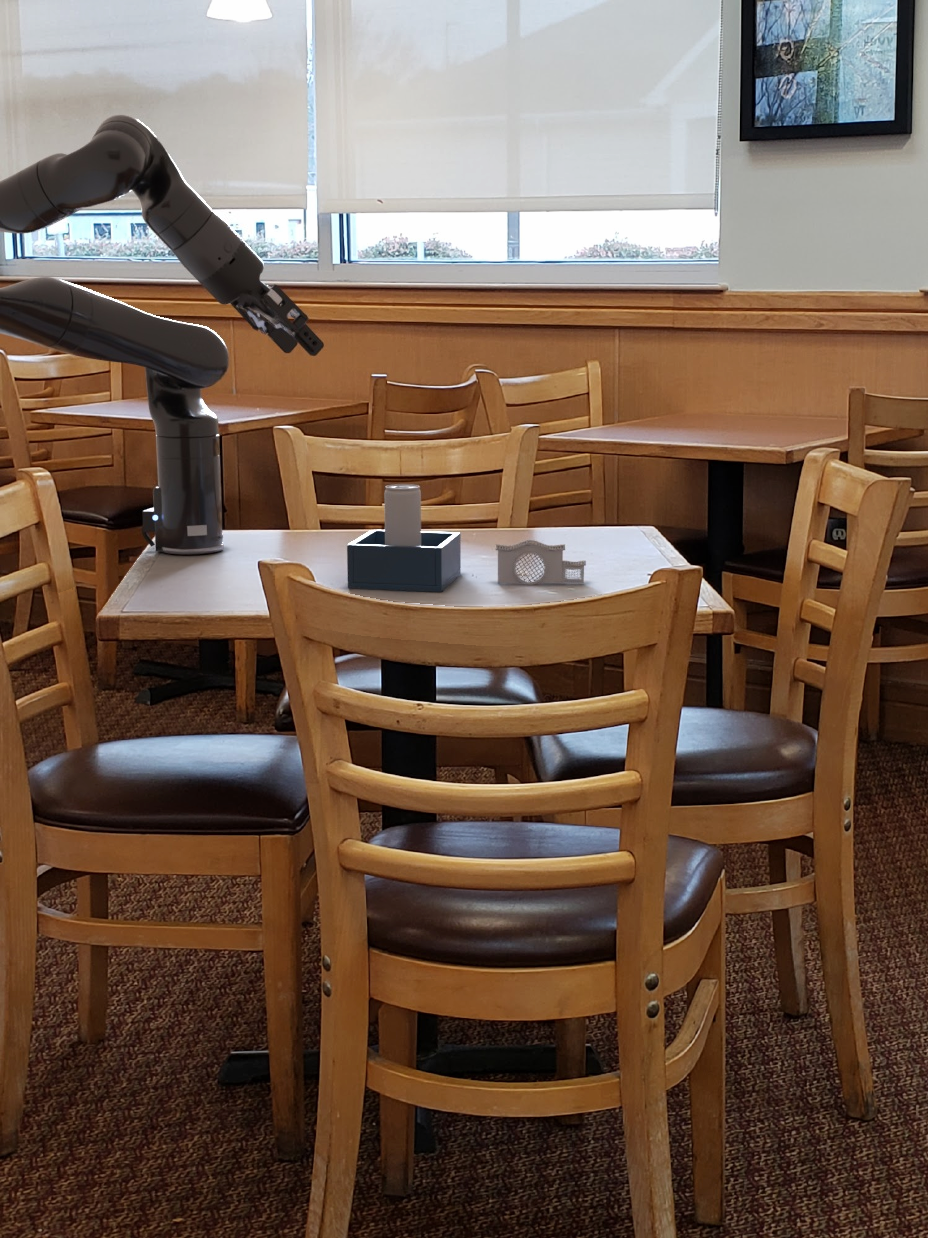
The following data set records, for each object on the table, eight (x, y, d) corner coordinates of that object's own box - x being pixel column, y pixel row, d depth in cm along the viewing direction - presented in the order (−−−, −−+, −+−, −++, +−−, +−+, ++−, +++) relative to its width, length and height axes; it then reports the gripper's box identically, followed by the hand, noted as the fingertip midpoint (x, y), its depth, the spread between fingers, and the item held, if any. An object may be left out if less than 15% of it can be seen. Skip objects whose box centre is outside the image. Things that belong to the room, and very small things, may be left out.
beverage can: (416, 579, 194) (416, 489, 191) (381, 577, 195) (380, 488, 192) (424, 572, 199) (424, 484, 196) (390, 571, 200) (389, 483, 197)
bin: (347, 588, 192) (346, 544, 191) (371, 570, 204) (371, 529, 203) (441, 592, 190) (441, 547, 189) (460, 574, 202) (460, 532, 201)
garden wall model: (584, 582, 196) (585, 538, 195) (585, 584, 195) (586, 540, 193) (495, 582, 196) (495, 538, 195) (495, 584, 195) (495, 540, 193)
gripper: (179, 279, 186) (266, 368, 194) (217, 278, 174) (308, 373, 182) (217, 236, 188) (302, 327, 195) (257, 233, 175) (347, 329, 183)
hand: (305, 349), depth 189 cm, fingers open, 8 cm apart
